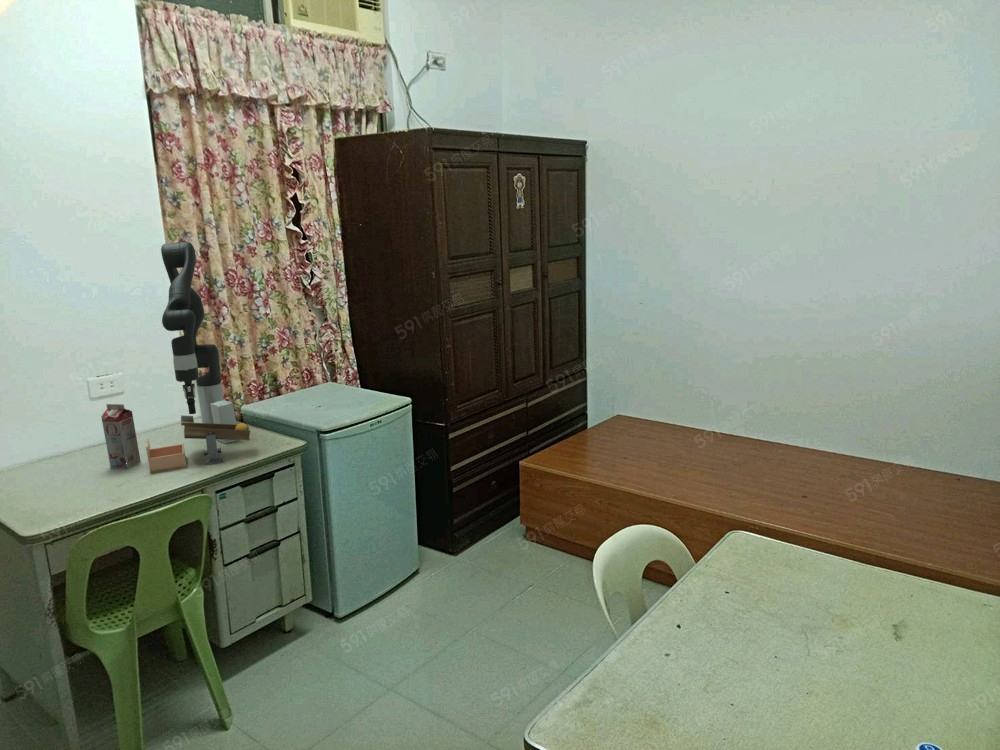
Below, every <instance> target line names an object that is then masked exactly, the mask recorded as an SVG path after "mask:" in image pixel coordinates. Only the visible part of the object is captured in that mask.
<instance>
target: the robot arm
mask: <svg viewBox="0 0 1000 750" xmlns="http://www.w3.org/2000/svg"><path fill="white" fill-rule="evenodd" d="M160 247H161V248H160V252H161V258H162V262H163V265H164V268H165V271H166V273H167V277H168V279H169V283H170V286H169V288H168V302H167V305H166V306H165V307H166V308H165V309H164V311H163V314H162V316H161V323H162V326H163V328H164V329H165V330H166V331H169V332H176V331H177V332H178V331H182V332H183V335H180V336H177V337H174V338H172V339H171V350H172V356H173V358H172V359H173V363H172V364H173V369H174V374H175V375H174V376H175V380H176V382H179V383H181V382H182V383H184V384H182V391H183V393H184V398H185V399H186V404H187V408H188V413H189V415H195V414H196V413H197V410H196V400H195V398H196V390H197V396H198V403H199V408H200V409H199V410H200V416H201V423H210V424H214V422H213V416H212V411H211V405H210V404H211V403H214V402H218V401H222V400H225V399H224V393H223V385H222V384H223V383H222V378H221V377H222V373H221V363H220V352H219V348H218V347H217V345H216V344H213V343H212V344H211V343H210V344H198V342H197V334H198V331H199V329H200V327H201V325H202V322H203V320H204V317H205V309H204V305H203V301H202V298H201V296H200V295H199V293H198V292H196V291H195V290H194V288H192V282H193V279H194V274H195V270H196V269H195V268H196V261H197V255H196V250H195V247H194V245H193V243H192V242H189V241H180V242H178V241H177V242H169V243H163V244H162V245H161V246H160ZM179 268H180V269H182V270H180V271H178V269H179ZM206 368H208V372H207V373H205V374H203V375H200V374H199V369H206ZM193 381H195V383H196V386H195V383H193ZM196 388H197V389H196Z"/></svg>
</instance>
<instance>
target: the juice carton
mask: <svg viewBox="0 0 1000 750" xmlns="http://www.w3.org/2000/svg"><path fill="white" fill-rule="evenodd" d="M133 415H134V414H133V411H132V410H130V409H127V408H125V404H123V403H122V404H117V403H106V409H105V411H104V412H103V413H102V414H101V423H102V429H103V433H104V440H105V445H106V449H107V455H108V461H109V467H110V469H120V468H121V469H122V470H123V469H125V470H128V469H129V468H130V469H131V467H134V466H136V465H138V464H139V462H140V463H141V462H142V461H141V456H140V450H139V449H140V448H139V444H138V439H137V433H136V428H135V422H134V420H135V419H134V416H133ZM126 463H127V464H126ZM121 469H120V470H121Z"/></svg>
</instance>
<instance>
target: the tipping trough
mask: <svg viewBox="0 0 1000 750" xmlns="http://www.w3.org/2000/svg"><path fill="white" fill-rule="evenodd" d="M194 421H195V420H194V415H180V425H181V426H182V427H183V426H184V427H183V436H184V439H193V440H195V439H196V440H206V435H208V434H214V433H215V436H216V440H217V439H225V440H238V441H250V436H251V430H250V427H249V425H248V424H245V425H246V426H247V430H235V427H236V426H237V425H238V424H237V425H236V424H210V423H202V422H194Z"/></svg>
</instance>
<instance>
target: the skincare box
mask: <svg viewBox="0 0 1000 750" xmlns="http://www.w3.org/2000/svg"><path fill="white" fill-rule="evenodd" d="M210 405H211V411H212V416H213V422H214V424H236V425H238V423H237V419H236V413H235V407H234V402H230V401H228V400H225V399H224V400H222V401H218V402H214V403H211V404H210ZM216 441H219V442H221V443H223V444H229V443H232V442H233V443H234V442H238V441H239V440H225V439H216Z"/></svg>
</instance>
